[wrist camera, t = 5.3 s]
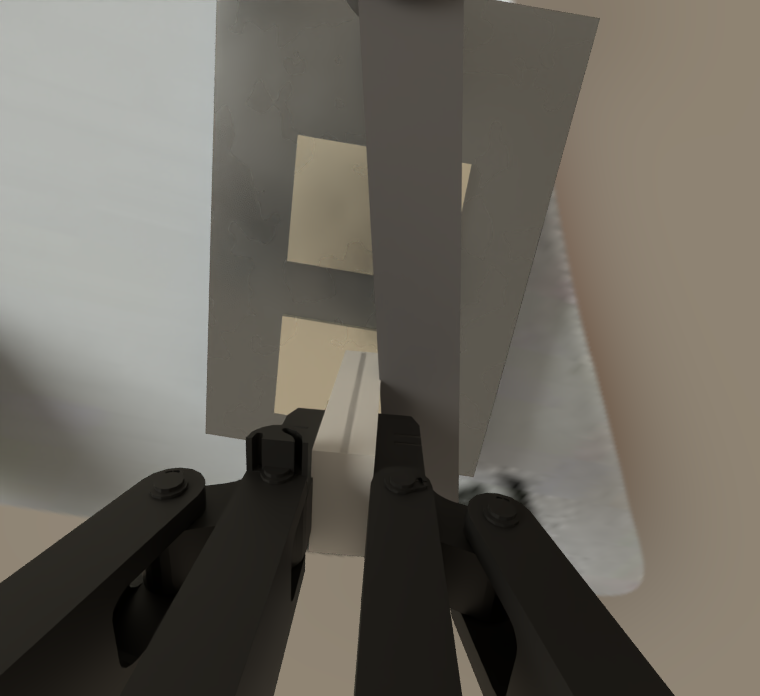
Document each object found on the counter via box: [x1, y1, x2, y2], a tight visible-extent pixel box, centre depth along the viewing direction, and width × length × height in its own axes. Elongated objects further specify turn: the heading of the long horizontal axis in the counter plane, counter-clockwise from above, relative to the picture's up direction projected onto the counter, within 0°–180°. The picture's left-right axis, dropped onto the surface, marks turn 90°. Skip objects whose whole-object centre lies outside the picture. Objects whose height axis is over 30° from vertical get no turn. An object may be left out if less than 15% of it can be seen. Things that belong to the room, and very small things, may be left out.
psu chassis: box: [206, 0, 600, 477], centre depth 17 cm, size 20×14×6 cm
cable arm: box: [346, 0, 464, 503], centre depth 13 cm, size 19×4×6 cm, turn 3°
